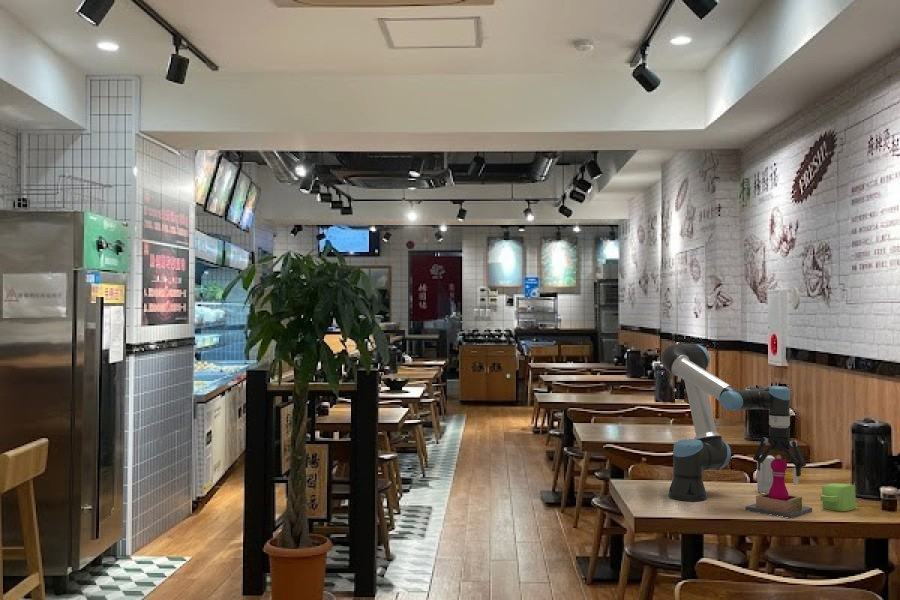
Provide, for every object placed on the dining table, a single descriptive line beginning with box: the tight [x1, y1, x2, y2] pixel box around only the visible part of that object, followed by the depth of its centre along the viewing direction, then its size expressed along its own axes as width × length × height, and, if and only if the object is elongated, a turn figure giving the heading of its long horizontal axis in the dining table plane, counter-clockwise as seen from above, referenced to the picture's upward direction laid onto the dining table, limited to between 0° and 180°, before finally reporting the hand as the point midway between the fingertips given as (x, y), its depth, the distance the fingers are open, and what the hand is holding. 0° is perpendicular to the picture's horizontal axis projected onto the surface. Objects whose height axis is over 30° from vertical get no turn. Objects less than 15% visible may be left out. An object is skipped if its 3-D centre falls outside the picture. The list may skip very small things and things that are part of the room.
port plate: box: [745, 493, 813, 519], centre depth 325 cm, size 18×18×6 cm
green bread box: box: [820, 483, 857, 512], centre depth 332 cm, size 18×10×10 cm, turn 130°
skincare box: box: [756, 454, 776, 494], centre depth 361 cm, size 8×7×16 cm
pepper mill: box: [769, 454, 790, 501], centre depth 326 cm, size 7×7×20 cm
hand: (779, 482), depth 325 cm, fingers open, 13 cm apart
